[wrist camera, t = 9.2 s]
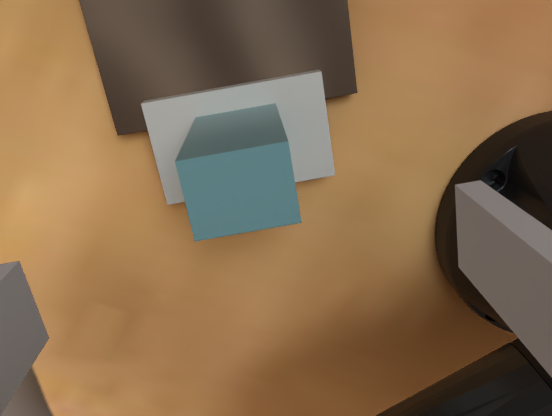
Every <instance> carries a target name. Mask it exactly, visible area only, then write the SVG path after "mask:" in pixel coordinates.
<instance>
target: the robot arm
mask: <svg viewBox="0 0 552 416" xmlns="http://www.w3.org/2000/svg"><path fill="white" fill-rule="evenodd" d="M436 249H437V254H438V258H439V262H440V265H441V267H442V270H443V272H444V274H445V276H446V278H447V279H448V281H449V282H450V284H451V285H452V287H453V288H454V289H455V290H456V292H457V293H458V294H459V296H460V297H461V298H462V300H463V301H464V302H465V303H466V304H467V305H468V306H469V307H470V308H471V309H472V310H473V311H474V312H475V313H477V314H478V315H479V316H480V317H482V318H483V319H485V320H486V321H488V322H490V323H491V324H493V325H495V326H497V327H500V328H502V329H504V330H507V331H510V332H513V333H515V335H516V336H517V337H518V339H517V340H515V341H513V342H510V343H508V344H506V345H504V346H502V347H501V348H499V349H497V350H495V351H493V352H491V353H490V354H488V355H486V356H484V357H482V358H480V359H479V360H477V361H475V362H473V363H471V364H469V365H468V366H466V367H464V368H462V369H460V370H458V371H457V372H455V373H453V374H451V375H449V376H447V377H446V378H444V379H442V380H440V381H438V382H436V383H435V384H433V385H431V386H429V387H427V388H425V389H424V390H422V391H420V392H418V393H416V394H414V395H413V396H411V397H409V398H407V399H405V400H403V401H402V402H400V403H398V404H396V405H394V406H392V407H391V408H389V409H387V410H385V411H383V412H382V413H380V414H378V415H376V416H552V111H549V112H544V113H540V114H536V115H533V116H530V117H527V118H524V119H522V120H519V121H517V122H515V123H513V124H511V125H509V126H507V127H505V128H504V129H502V130H500V131H499V132H497V133H496V134H494V135H493V136H491V137H490V138H489V139H487V140H486V141H485V142H484V143H482V144H481V145H480V146H479V147H478V148H477V149H476V150H475V151H474V152H473V153H472V154H471V155H470V156H469V157H468V158H467V159H466V160H465V162H464V163H463V164H462V165H461V167H460V168H459V169H458V171H457V172H456V174H455V175H454V177H453V178H452V180H451V182H450V184H449V186H448V188H447V190H446V192H445V194H444V197H443V199H442V202H441V205H440V208H439V212H438V217H437V223H436ZM48 339H49V336H48V334H47V331H46V329H45V326H44V323H43V321H42V318H41V316H40V313H39V310H38V308H37V305H36V303H35V300H34V298H33V295H32V292H31V290H30V287H29V285H28V282H27V279H26V277H25V274H24V272H23V269H22V267H21V264H20V261H17V262H11V263H5V264H0V416H1V415H2V413H3V411H4V410H5V408H6V407H7V405H8V403H9V402H10V400H11V399H12V397H13V395H14V394H15V392H16V390H17V389H18V387H19V385H20V384H21V382H22V381H23V379H24V377H25V376H26V374H27V373H28V371H29V370H30V368H31V366H32V365H33V363H34V361H35V360H36V358H37V357H38V355H39V353H40V352H41V350H42V349H43V347H44V345H45V344H46V342H47V341H48Z"/></svg>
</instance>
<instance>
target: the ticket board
mask: <svg viewBox="0 0 552 416" xmlns="http://www.w3.org/2000/svg"><path fill="white" fill-rule="evenodd" d="M79 2H80V5H81V9H82V12H83V16H84V19H85V23H86V26H87V30H88V33H89V37H90V40H91V44H92V47H93V51H94V54H95V58H96V61H97V65H98V68H99V72H100V75H101V79H102V82H103V86H104V89H105V93H106V96H107V100H108V103H109V107H110V110H111V114H112V117H113V121H114V124H115V128H116V131H117V135H124V134H129V133H135V132H141V131H146V130H148V129H147V125H146V121H145V118H144V114H143V110H142V106H141V103H142V102H143V101H146V100H151V99H157V98H162V97H168V96H174V95H179V94H185V93H190V92H196V91H202V90H207V89H213V88H218V87H224V86H230V85H235V84H241V83H246V82H252V81H258V80H263V79H269V78H274V77H280V76H286V75H291V74H297V73H302V72H308V71H314V70H320V71H322V79H323V86H324V94H325V99H326V98H331V97H337V96H343V95H348V94H354V93H357V87H356V77H355V68H354V59H353V50H352V40H351V31H350V22H349V12H348V3H347V0H79Z"/></svg>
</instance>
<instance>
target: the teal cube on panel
mask: <svg viewBox="0 0 552 416" xmlns="http://www.w3.org/2000/svg"><path fill="white" fill-rule="evenodd" d="M141 106H142V110H143V114H144V118H145V121H146V125H147V129H148V133H149V137H150V140H151V144H152V148H153V152H154V156H155V160H156V163H157V167H158V171H159V175H160V179H161V182H162V186H163V190H164V194H165V198H166V201H167V205H170V204H176V203H181V202H185V204H186V208H187V212H188V216H189V220H190V224H191V228H192V232H193V236H194V240H195V241H200V240H206V239H212V238H217V237H223V236H229V235H234V234H240V233H246V232H251V231H257V230H263V229H268V228H274V227H280V226H285V225H291V224H297V223H302V222H301V216H300V210H299V204H298V198H297V192H296V185H295V182H300V181H305V180H311V179H317V178H322V177H328V176H334V175H335V170H334V163H333V155H332V148H331V140H330V132H329V125H328V117H327V109H326V102H325V94H324V86H323V79H322V71H320V70H314V71H308V72H302V73H297V74H291V75H286V76H280V77H274V78H269V79H263V80H258V81H252V82H246V83H241V84H235V85H230V86H224V87H218V88H213V89H207V90H202V91H196V92H190V93H185V94H179V95H174V96H168V97H162V98H157V99H151V100H146V101H143V102H142V103H141Z"/></svg>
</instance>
